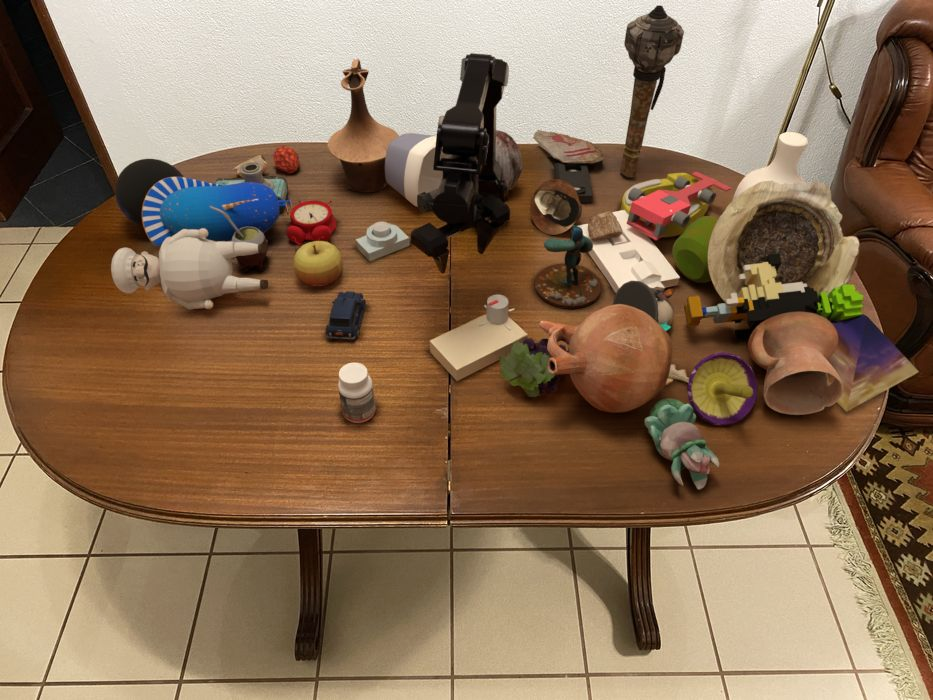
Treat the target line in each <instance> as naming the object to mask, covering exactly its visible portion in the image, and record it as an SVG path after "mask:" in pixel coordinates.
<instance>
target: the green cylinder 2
mask: <svg viewBox="0 0 933 700" xmlns="http://www.w3.org/2000/svg"><path fill="white" fill-rule="evenodd" d="M718 219H719V217H716V216H713V215H704V216H702V217H700V218H698V219H697V220H695V221H694V222H692V223H691V224H690V225H689V226H688V227H687V229H686V230H685V231H684V233H682V234H680V235H679V237H678V238H677V239H676V240H675V242H674V244H673V246H672V257H673V261H674V264H675V265H676V267H677V269H678V270H679V272H680V273H681V274H682V275H683V276H684V277H685V278H686V279H687V280H689V281H691V282H693V283H699V284H705V283H708V282H712V280H711V276H710V273H709V268H708V247H709V242H710V237H711V234H712V231H713V228H714V226H715V224H716V222H717V221H718Z"/></svg>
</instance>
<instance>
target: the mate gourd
mask: <svg viewBox="0 0 933 700" xmlns="http://www.w3.org/2000/svg"><path fill="white" fill-rule="evenodd" d="M210 208H212V209H214V210H216V211H218V212H220V213H221V214H223V216H224V217H225V218H226V219H227V220H228V221H229V222H230V224H231V225H232V226H233V227H234V229H235V230H236V232H235V233H234V235H233V237H232V240H231V242H247V243H254V244H266V247H267V251H266V253H256V254H252V255H245V256H236V257H235V258H236V260H237V262H238V264H239V265H240V267H241V268H240V270H241V272H243V273H245V272H247V271H248V270H250V269H252V268H256V269H257V270H258V271H260V272H262V273H263V272H264V271H265V267H264V266H263V262H265V261H267V260H268V256H267V253H268V248H269V247H268V246H269V245H268V242H267V241H266V240H267V238H266V236H265V234H264V233H262V232H261V231H260V230H258V229H257V228H255V227H243V228H240V229H237V227H236V226H235V225H234V223H233V222H232V220H231V219H230V218H229V216H228V214H227V213H225V212H223V211H222V210H220V209H217V208H215V207H212V206H210Z"/></svg>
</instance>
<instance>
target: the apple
mask: <svg viewBox="0 0 933 700" xmlns="http://www.w3.org/2000/svg"><path fill="white" fill-rule="evenodd" d="M304 244H305V245H301V246H300V247H299V248H298V249H297V250H296V252H295V254H294V256H293V259H292V263H293V264H292V265H293V270H294V273H295V276H297V278H298V279H299V280H300V281H301V282H302V283H304V284H306V285H308V286H312V287H322V286H327V285H329V284H331V283H333V282H334V281H336V280H337V279H338V278H339V276H340V274H341V273H342V271H343V269H344V267H343V266H344V265H343V263H344V261H343V256H342V255H343V254H342V253H341V251H340V250H339V249H338V247H337V246H335V245H334V244H332V243H330V242H328V241H327V242H325V241H314V240H312V241H309V242H307V243H304Z"/></svg>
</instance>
